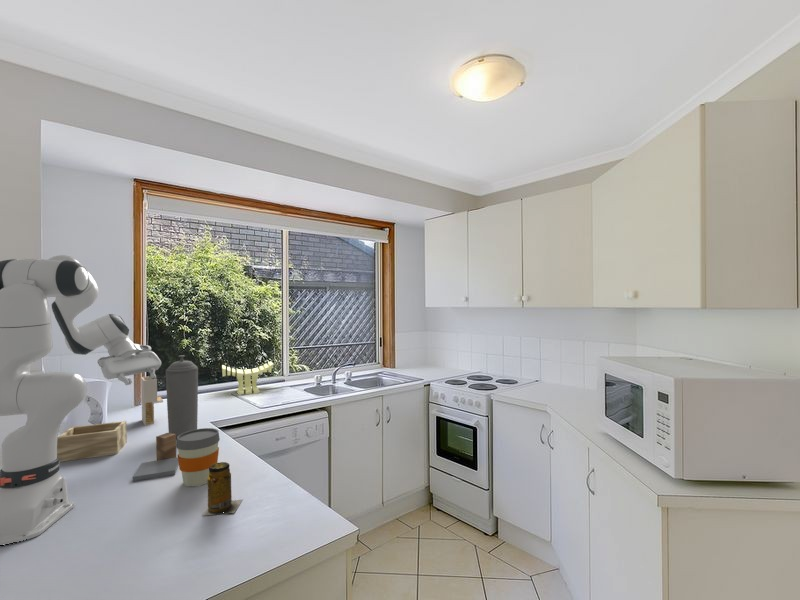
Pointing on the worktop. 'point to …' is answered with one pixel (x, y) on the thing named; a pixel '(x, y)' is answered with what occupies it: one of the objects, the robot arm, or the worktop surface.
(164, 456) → the walnut block
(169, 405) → the canister
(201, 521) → the worktop surface
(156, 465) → the slate coaster
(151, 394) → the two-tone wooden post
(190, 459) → the reusable coffee cup
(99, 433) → the bamboo organizer
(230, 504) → the condiment
